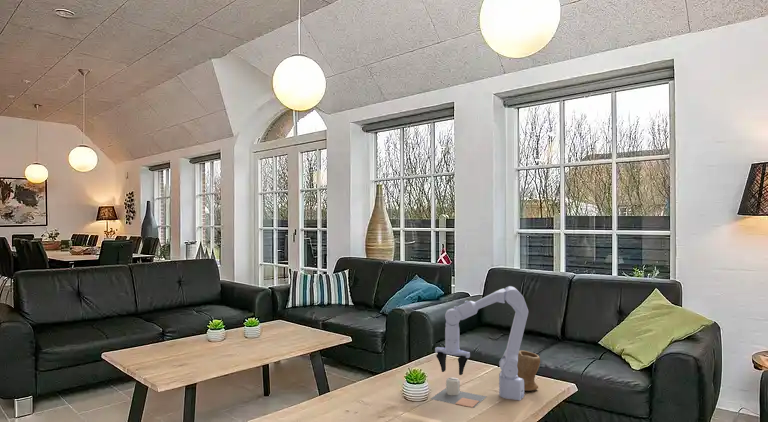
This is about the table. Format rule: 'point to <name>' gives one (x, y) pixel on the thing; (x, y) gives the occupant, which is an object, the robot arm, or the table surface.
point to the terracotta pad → (467, 402)
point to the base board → (457, 397)
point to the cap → (452, 386)
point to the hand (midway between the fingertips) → (452, 372)
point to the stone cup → (528, 368)
